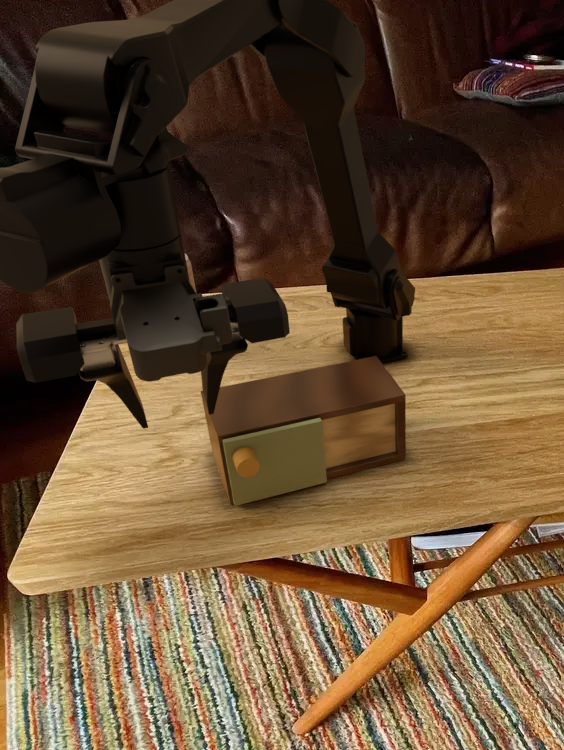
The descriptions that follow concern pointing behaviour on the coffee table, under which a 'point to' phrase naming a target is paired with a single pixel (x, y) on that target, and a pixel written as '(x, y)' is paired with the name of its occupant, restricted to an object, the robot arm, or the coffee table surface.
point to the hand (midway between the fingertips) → (178, 418)
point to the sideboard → (319, 414)
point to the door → (275, 461)
